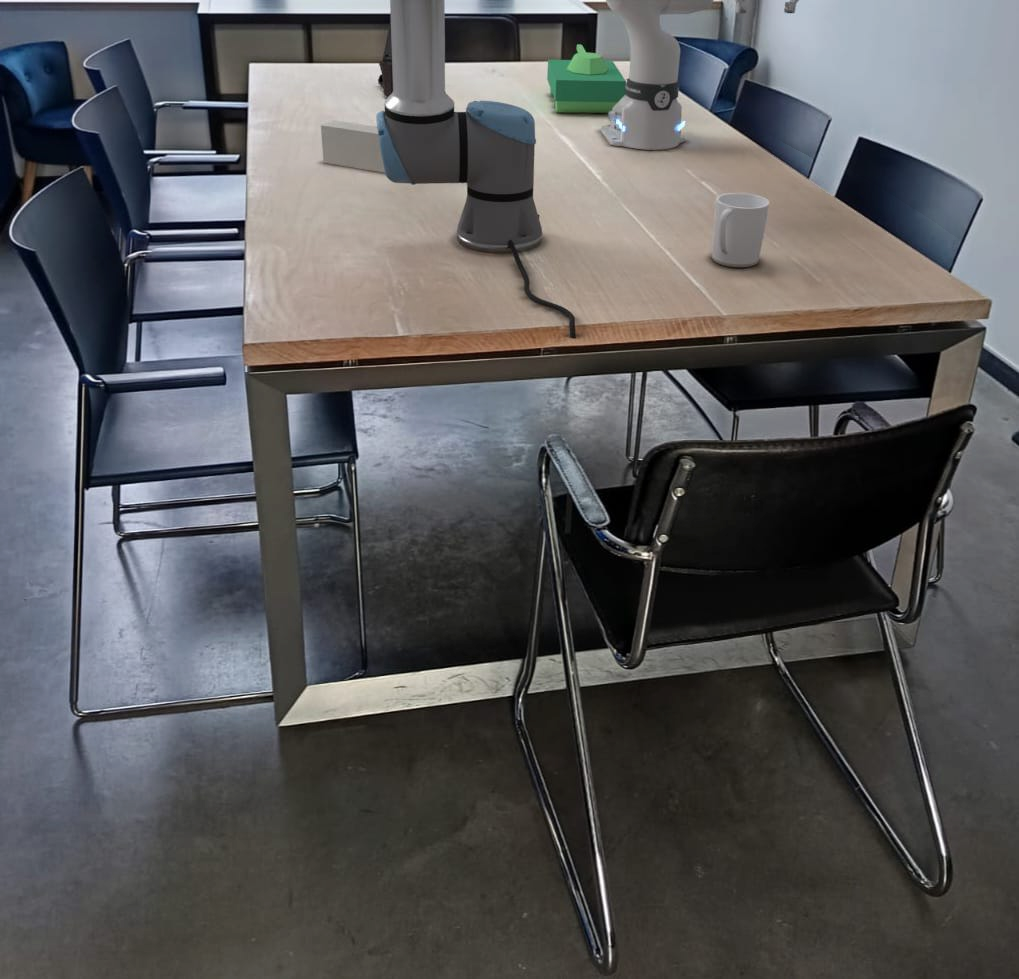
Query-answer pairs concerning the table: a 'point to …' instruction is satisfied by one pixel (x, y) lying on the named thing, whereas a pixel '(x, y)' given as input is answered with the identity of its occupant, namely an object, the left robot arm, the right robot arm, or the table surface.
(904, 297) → the table surface
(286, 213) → the table surface
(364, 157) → the bar
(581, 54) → the toy tank
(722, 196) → the mug
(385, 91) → the axe head
